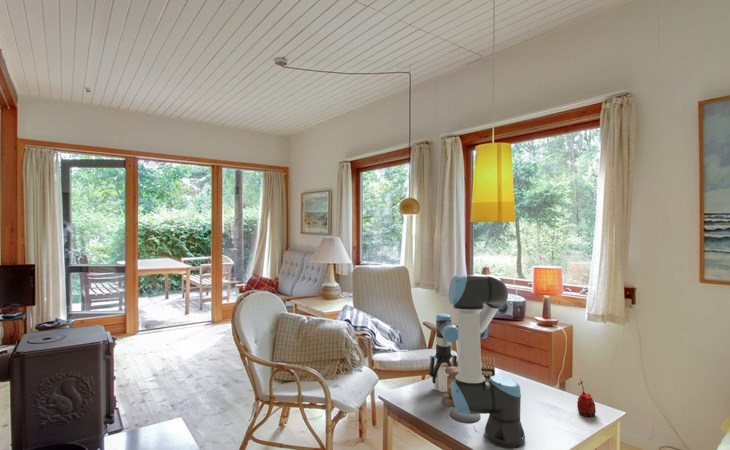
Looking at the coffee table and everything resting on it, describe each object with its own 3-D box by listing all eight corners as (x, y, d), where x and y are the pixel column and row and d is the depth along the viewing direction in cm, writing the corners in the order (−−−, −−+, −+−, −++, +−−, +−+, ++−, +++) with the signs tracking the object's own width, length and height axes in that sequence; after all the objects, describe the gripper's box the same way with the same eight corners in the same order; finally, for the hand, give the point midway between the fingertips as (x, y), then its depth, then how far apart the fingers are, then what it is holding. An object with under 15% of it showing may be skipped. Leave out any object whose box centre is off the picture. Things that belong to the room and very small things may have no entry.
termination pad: (485, 421, 163) (485, 420, 163) (457, 424, 161) (457, 422, 161) (472, 406, 176) (472, 405, 176) (445, 409, 174) (445, 407, 174)
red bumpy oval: (588, 419, 165) (588, 385, 165) (573, 412, 171) (573, 379, 171) (599, 415, 169) (599, 382, 168) (583, 408, 175) (584, 376, 175)
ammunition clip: (494, 377, 209) (494, 356, 209) (495, 379, 207) (495, 357, 207) (474, 376, 211) (474, 354, 211) (474, 377, 209) (475, 355, 209)
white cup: (439, 393, 190) (439, 373, 189) (432, 386, 197) (433, 367, 197) (454, 391, 192) (454, 372, 191) (446, 385, 199) (446, 366, 199)
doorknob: (467, 405, 177) (468, 373, 177) (447, 407, 176) (447, 374, 176) (459, 395, 187) (459, 365, 187) (439, 397, 186) (439, 366, 185)
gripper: (459, 341, 199) (459, 384, 200) (422, 343, 196) (421, 386, 196) (465, 345, 192) (465, 390, 192) (426, 348, 189) (426, 393, 189)
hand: (443, 388), depth 194 cm, fingers closed on white cup, 7 cm apart
